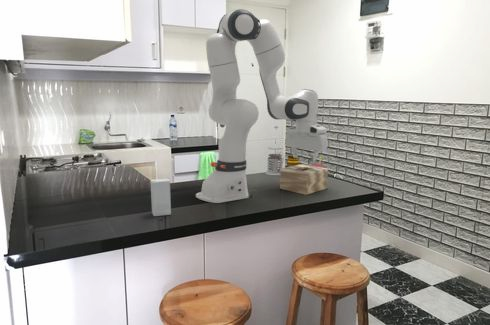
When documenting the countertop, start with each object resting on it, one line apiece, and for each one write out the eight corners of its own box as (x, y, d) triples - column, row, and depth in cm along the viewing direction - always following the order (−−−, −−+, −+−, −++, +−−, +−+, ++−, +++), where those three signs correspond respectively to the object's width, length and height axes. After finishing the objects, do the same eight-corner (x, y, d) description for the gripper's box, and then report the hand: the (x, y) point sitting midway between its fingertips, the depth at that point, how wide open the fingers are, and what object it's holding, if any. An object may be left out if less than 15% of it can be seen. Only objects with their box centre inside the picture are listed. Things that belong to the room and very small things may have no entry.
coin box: (305, 194, 154) (307, 173, 152) (279, 188, 164) (280, 168, 162) (326, 188, 165) (328, 168, 164) (301, 182, 175) (302, 164, 173)
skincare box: (168, 211, 130) (168, 177, 127) (171, 215, 126) (170, 180, 123) (151, 213, 127) (150, 178, 125) (153, 217, 123) (152, 182, 121)
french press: (277, 170, 201) (279, 124, 196) (289, 175, 191) (291, 126, 186) (261, 172, 197) (263, 125, 192) (273, 176, 186) (274, 127, 182)
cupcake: (320, 174, 193) (321, 152, 191) (328, 178, 185) (330, 154, 183) (305, 175, 190) (306, 152, 188) (313, 179, 182) (314, 155, 180)
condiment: (290, 181, 177) (291, 156, 175) (280, 177, 185) (281, 154, 182) (302, 180, 181) (304, 155, 178) (292, 176, 188) (293, 153, 186)
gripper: (282, 125, 164) (281, 156, 167) (322, 130, 150) (319, 163, 153) (291, 125, 169) (289, 155, 171) (330, 129, 155) (328, 161, 157)
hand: (304, 159), depth 162 cm, fingers open, 8 cm apart
